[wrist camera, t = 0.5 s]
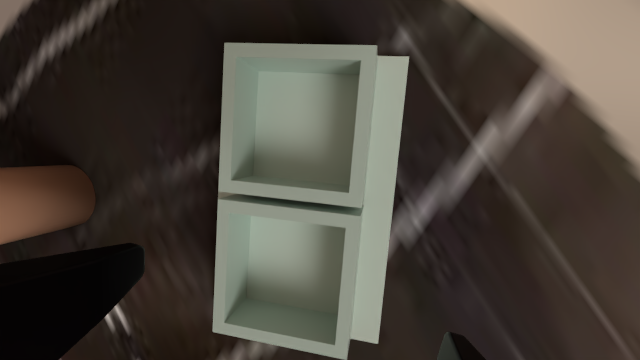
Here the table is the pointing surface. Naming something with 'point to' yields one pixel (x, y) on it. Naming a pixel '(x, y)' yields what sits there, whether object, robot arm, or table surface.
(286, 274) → the compartment organizer
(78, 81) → the table surface
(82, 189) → the tumbler
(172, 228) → the table surface
